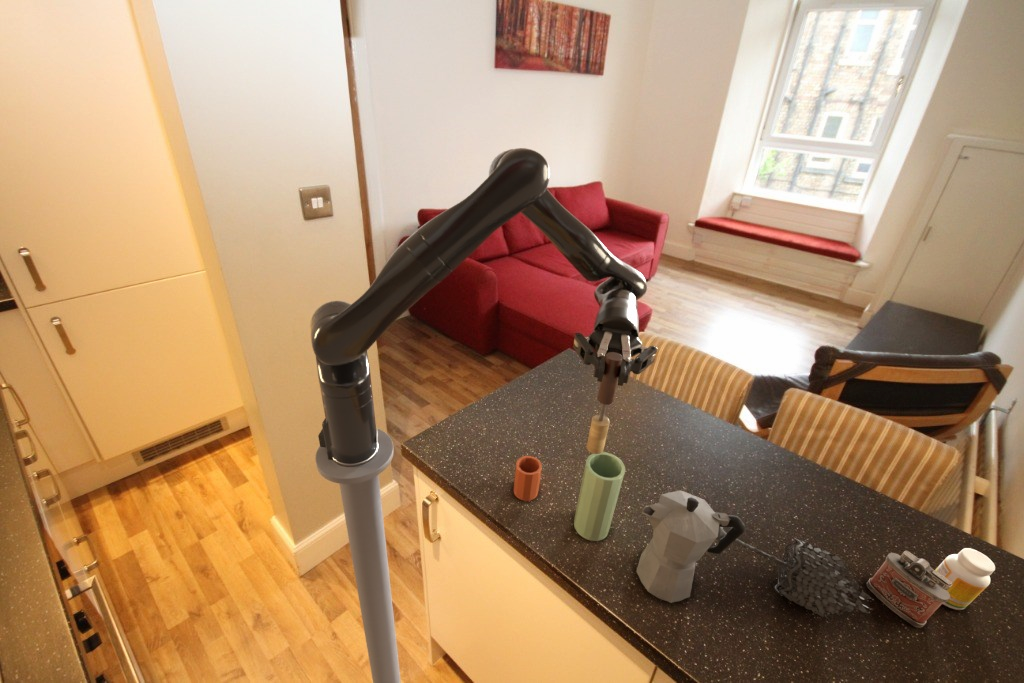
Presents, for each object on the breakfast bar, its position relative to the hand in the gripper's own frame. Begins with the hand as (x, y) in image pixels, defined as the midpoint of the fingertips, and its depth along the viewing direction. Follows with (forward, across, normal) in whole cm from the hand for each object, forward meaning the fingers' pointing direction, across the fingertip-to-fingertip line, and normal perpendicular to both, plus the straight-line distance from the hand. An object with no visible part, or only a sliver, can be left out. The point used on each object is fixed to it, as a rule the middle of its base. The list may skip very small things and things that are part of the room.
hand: (611, 378), depth 64 cm
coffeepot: (+4, +16, +34) cm, 37 cm away
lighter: (-2, +51, +34) cm, 61 cm away
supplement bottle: (-6, +61, +34) cm, 70 cm away
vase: (-2, +2, +33) cm, 33 cm away
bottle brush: (-3, 0, +16) cm, 16 cm away
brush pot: (-6, -11, +33) cm, 36 cm away
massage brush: (0, +33, +34) cm, 47 cm away
